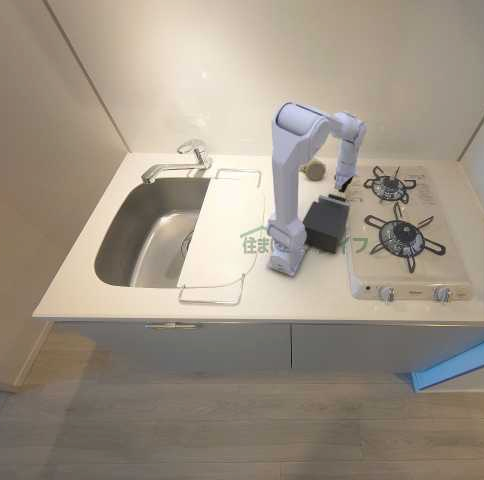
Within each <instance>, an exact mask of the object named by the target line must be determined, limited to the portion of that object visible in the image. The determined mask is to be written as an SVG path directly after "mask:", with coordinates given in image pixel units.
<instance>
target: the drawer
mask: <svg viewBox="0 0 484 480" xmlns="http://www.w3.org/2000/svg"><path fill="white" fill-rule="evenodd" d="M317 198H318V201H317V202H318V203H321V204H325V205H328V206H331V207H335V208H338V209H341V210H344V211H348V212H349V213H350V208H351V203H348V202H347V198H346V197H342V196H339V195H336V194H332V193H328V196H326V195H322V194H319V195H318V197H317Z"/></svg>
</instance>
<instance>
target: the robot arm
mask: <svg viewBox="0 0 484 480" xmlns="http://www.w3.org/2000/svg"><path fill="white" fill-rule="evenodd" d="M270 123H271V141H272V148H273V149H272V152H271V153H272V155H271V168H272V169H271V172H272V183H273V197H274V198H273V199H274V210H275V211H274V212H273V213H272V214H271V215H270V216H269V217H268V219H267V226H266V235H267V236H269V237H271V240H272V241H273V251H272V253H271V254H270V256H269V260H270V263H269V265H268V267H269V269H272V270H275V271H278V272H280V273H282V274H286V275H289V276H291V277H294V276H295V273H296V272H297V269H298V267H299V266H300V264H301V261H302V260H303V257H304V256H305V253H306V251H305V249H302V247H303V246H304V244H305V243H304V242H305V240H306V237H307V235H306V231H305V226H304V225H303V223H302V222H303V221H301V219H300V218H299V181H300V179H299V178H300V174H299V173H300V166H305V165H308V163H309V162H310V160H311V159H312V158H315V156H316V154H317V153H318V152H319V151H320V150H321V148H322V147H323V146H324V145H325V144H326V142H327V141H328V138H329V135H330V136H331V137H332V138H335V139H339V145H338V153H337V161H336V167H335V169H334V171H335V174H334V176H333V179H334V181H335V183H334V189H335V190H337V191H338V192H339V193H342V194H345V193H346V191H347V189H348V186H349V185H350V184H351V183H352V181H353V179H354V177H357V176H358V175H359V171H358V170H357V169H356V166H357V161H358V156H359V151H360V147H362V145H363V142H364V138H365V136H366V134H367V131H368V125H367V124H366V122H365V121H363V120H360V119H358V118H357V116H356V115H354V114H351V112H349V111H346V110H343V111H342V112H336V113H334V114H332V113H330V112H328V111H325V110H322V109H320V108H317V107H315V106H311V105H307V104H303V103H295V104H294V103H293V102H292V101H284V102H282V104H280V105H279V107H278V108H277V110H276V112H275V113H274V115H273V117H272V119H271V121H270Z"/></svg>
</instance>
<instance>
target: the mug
mask: <svg viewBox="0 0 484 480" xmlns="http://www.w3.org/2000/svg"><path fill="white" fill-rule="evenodd" d="M301 170H302V171H303V172H305V174H306V176H307V177H308V178H309V179H310V180H313V181H318V180H321V179H322V178H323V177H324V175H325V174H326V167H325V164H324V163H323V162H322V161H320V160H318V158H316V157H313V158H312V159H311V160H310V162H309V163H308V164H304V165H303V167H302V169H301Z"/></svg>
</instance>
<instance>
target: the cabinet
mask: <svg viewBox="0 0 484 480" xmlns="http://www.w3.org/2000/svg"><path fill="white" fill-rule="evenodd" d="M349 213H350V211H349V212H348V211H344V210H341V209H338V208H335V207H331V206H328V205H325V204H321V203H318V201H314V200H313V201H312V203H311V205H310V207H309V208H308V210H307V212H306V215H305V216H304V217H303V220H302V221H301V222H302V223H303V225H304V226H305V231H306V235H307V237H306V240H305V242H304V244H305V245H308V246H311V247H313V248H317V249H320V250H322V251H326V252H328V253H330V254H334V255H335V254H336V253H337V250H338V248H339V245H340V243H341V240H342V238H343V235H344V233H345V231H346V227H347V222H348V219H349V218H348V217H349Z"/></svg>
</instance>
